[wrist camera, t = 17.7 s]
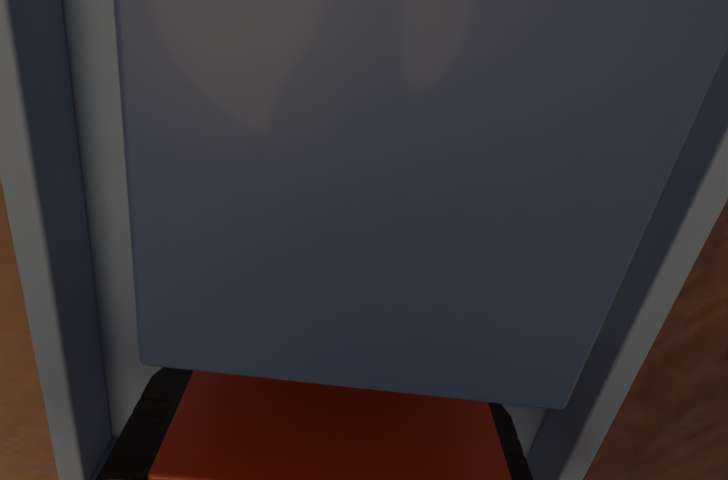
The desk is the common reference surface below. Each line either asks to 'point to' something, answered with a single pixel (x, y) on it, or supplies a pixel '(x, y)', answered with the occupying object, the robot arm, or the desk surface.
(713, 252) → the desk surface
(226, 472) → the rust cube
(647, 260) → the gray tray
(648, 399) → the desk surface
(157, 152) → the blue cube
